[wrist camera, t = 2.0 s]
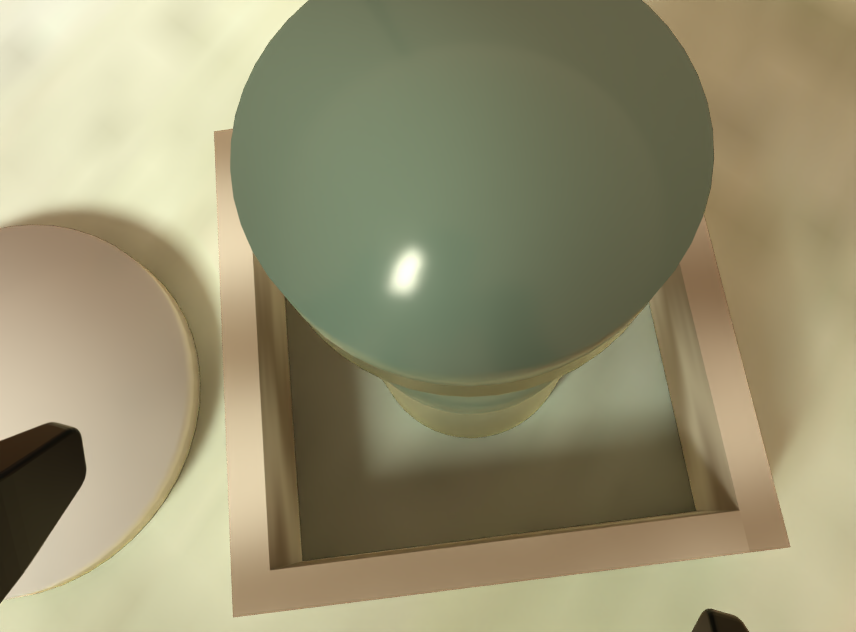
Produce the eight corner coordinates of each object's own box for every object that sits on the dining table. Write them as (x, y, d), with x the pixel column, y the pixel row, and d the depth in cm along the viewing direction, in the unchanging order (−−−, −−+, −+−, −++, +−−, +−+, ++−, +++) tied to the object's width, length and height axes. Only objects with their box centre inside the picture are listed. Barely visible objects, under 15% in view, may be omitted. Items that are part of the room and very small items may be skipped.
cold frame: (737, 541, 20) (790, 547, 17) (271, 600, 21) (232, 617, 17) (638, 128, 24) (665, 66, 21) (249, 183, 25) (214, 131, 21)
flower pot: (596, 438, 21) (771, 333, 9) (375, 467, 22) (240, 405, 9) (557, 232, 23) (654, -89, 11) (354, 261, 24) (220, -24, 11)
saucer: (205, 573, 21) (190, 577, 20) (-174, 621, 21) (-211, 628, 20) (195, 216, 24) (181, 202, 23) (-132, 263, 25) (-162, 250, 23)
